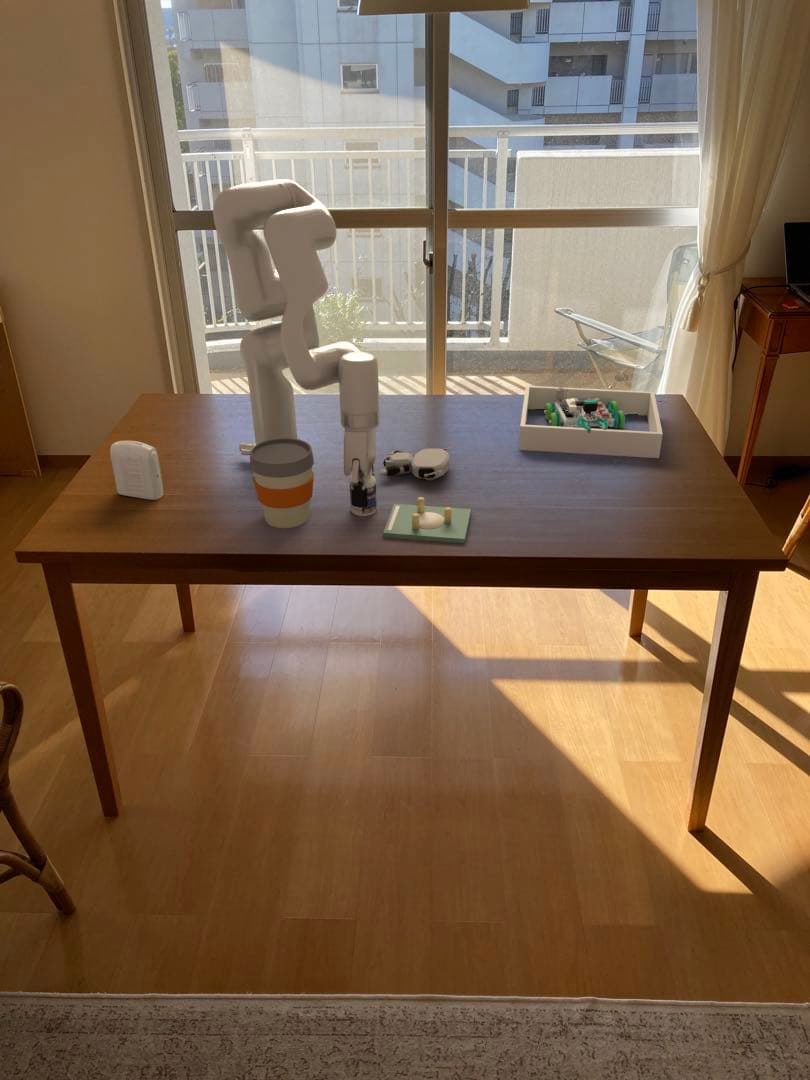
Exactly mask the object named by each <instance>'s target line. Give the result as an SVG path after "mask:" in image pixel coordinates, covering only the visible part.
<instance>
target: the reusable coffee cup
mask: <svg viewBox="0 0 810 1080" xmlns="http://www.w3.org/2000/svg"><path fill="white" fill-rule="evenodd" d="M249 460H250V461H249V464H250V465H249V466H250V469H251V471H252V472H253V477H252V480H253V481H252V482H253V485H254V488H255V493H256V496H257V500H258V501H259V503H260V505H261V508H262V510H263V511H262V512H263V515H264V518H265V522H266V523H267V524H268V525H269V526H271V527H274V528H277V529H278V528H279V529H290V528H296V527H299V526H302V525H303V524H305V523H306V522H307V521H308V520H309V519H310V518H309V517H310V511H311V510H310V508H311V507H310V506H311V499H312V497H313V491H314V480H315V479H314V475H315V474H314V471H313V466H314V464H315V458H314V454H313V448H312V446H311V444H310V443H309V442H307V441H305V440H302V439H299V438H297V439H294V438H276V439H270V440H267V441H263V442H261V443H259V444H257V445H255V446H254V447H253V448H252V449H251V452H250V455H249Z"/></svg>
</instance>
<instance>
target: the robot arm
mask: <svg viewBox="0 0 810 1080" xmlns="http://www.w3.org/2000/svg"><path fill="white" fill-rule="evenodd" d="M212 211H213V212H212V214H213V222H214V226H215V229H216V232H217V235H218V237H219V239H220V241H221V243H222V246H223V248H224V250H225V253H226V255H227V257H226V258H227V261H228V265H229V270H230V274H231V280H232V283H233V288H234V293H235V294H234V295H235V297H236V302H237V306H238V310H239V311H240V313H241V316H242V317H243V318H244V320H247V321H249V322H260V321H266V320H271V319H274V318H278V317H282V319H281V321H280V322H278V323H273V324H268V325H265V326H261V327H257V328H255V329H253V330H251V331H248V332H247V333H246V334H244V336H243V337H242V338H241V340H240V346H239V352H240V356H241V359H242V362H243V366H244V369H245V373H246V377H247V383H248V389H249V398H250V405H251V414H252V415H251V416H252V421H253V424H252V425H253V433H254V434H253V435H254V442H253V443H247V442H240V443H239V446H238V449H239V451H240V455H241V456H250V452H251V449H252V448H253V447H254V446H255V445H257V444H259V443H261V442H263V441H267V440H270V439H276V438H294V439H298V427H297V418H296V417H297V415H296V405H295V404H296V402H295V394H294V393H295V392H294V387H293V385H292V383H291V382H290V380H289V379H288V378H287V377H286V376H285V375H284V373H283V371H284V370H285V369H288V368H289V370H290V373H291V375H292V377H293V379H294V380H295V383H296V384H298V386H299V387H300V388H302V389H304V390H307V391H315V390H318V389H322V388H325V387H328V386H332V385H334V384H338V387H339V406H340V423H341V424H340V425H341V427H342V428H343V429H344V433H343V474H344V476H345V477H348V476H349V477H350V474H351V478H350V479H351V494H352V505H353V506H358V507H367V506H368V491H367V488H366V477H367V476H368V475H369V473H370V471H371V469H372V476H374V477H375V473H374V469H375V468H374V464H375V461H376V458H377V433H376V432H377V431H376V428H378V426H379V425H380V397H379V395H380V393H379V391H380V389H379V363H378V359H377V358H376V356H375V355H373V354H372V353H370V352H367V351H362V350H360V348H358V347H357V346H356V345H354V343H353V342H351V341H347V340H342V341H337V342H332V343H328V344H325V345H321V346H320V337H319V332H318V331H319V330H318V326H317V319H316V315H315V314H316V313H315V309H314V304H315V303H316V302H317V301H319V299H321V298H322V297H323V296H324V295H325V294H326V293H327V292H328V289H329V282H328V280H327V277H326V274H325V272H324V268H323V265H322V263H321V260H320V257H319V255H318V251H321V250H326V249H329V248H331V247H332V246H333V245H334V244H335V242H336V239H337V226H336V222H335V220H334V218H333V216H332V214H331V212H330V211H329V210H328V208H327V207H326V206H325V205H324V204H323V203H322V202H321V201H320V200H319V199H318V198H316V197H315V196H314V195H313V194H311V193H310V192H309V191H307V190H306V189H305V188H303V187H302V186H301V185H300V184H299V183H297V182H295V181H293V180H291V179H287V178H281V179H279V178H278V179H272V180H265V181H257V182H248V183H242V184H237V185H233V186H229V187H228V188H225V189H223V190H222V191H220V192H219V193H218V194H217V195H216V197H215V200H214V203H213V207H212ZM257 229H258V230H259V229H263V230H262V231H263V237H264V240H265V241H264V240H263V239H262V238H261V236H260V235H259V234H257V232H256V231H254V230H257ZM265 242H266V243H265ZM271 261H272V262H273V265H274V267H275V269H274V268H273V265H272V262H271ZM359 471H360V472H363V474H359ZM359 478H362V482H361V481H359Z"/></svg>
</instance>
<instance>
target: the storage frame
mask: <svg viewBox="0 0 810 1080" xmlns="http://www.w3.org/2000/svg"><path fill="white" fill-rule="evenodd" d="M559 387H560V386H542V385H541V386H540V385H539V386H538V385H525V390H524V397H523V402H522V403H523V405H522V409H521V410H522V411H521V418H520V419H521V420H520V424H519V427H520V428H519V440H518V441H519V442H518V450H519V451H533V452H551V453H565V454H581V455H584V454H585V455H601V456H616V457H617V456H618V457H633V458H648V459H649V458H651V459H660V455H661V447H662V442H663V435H664V434H663V428H662V424H661V418H660V413H659V410H658V409H659V408H658V405H657V404H658V403H657V399H656V393H655V391H646V390H645V391H644V390H643V391H642V390H641V391H640V390H624V389H623V390H622V389H621V390H620V389H602V388H601V389H600V388H599V389H598V388H583V387H563V388H564V389H568V390H565V391H568V393H569V398H568V399H571V398H589V399H590V400H593V399H595V398H599V399H600V401H602V402H603V404H604V405H605V407H606V409H607V404H608V402H612V401H616V402H617V404H618V412H619V411H623V412H624V413H627V414H626V415H628V414H638V415H637V416H646V417H647V422H648V427H649V431H645V430H643V431H642V430H630V429H629V430H628V429H625V430H623V429H608V428H607V429H606V430H603V428H594V427H593V428H592V427H590V428H591V433H587V432H588V430H587V429H585V428H580V427H564V426H560V427H557V426H550V425H535V424H527V421H528V413H529V410H534V409H545V405H546V404H547V403H550V404H552V403H554V404H555V403H556V402H558V403H562V400H561V401H560V400H558V399H557V398H556V390H557V389H558V388H559ZM566 399H567V398H566ZM559 405H560V404H559ZM559 405H558V406H559ZM562 405H563V404H562ZM562 405H561V406H562ZM564 406H565V405H564ZM565 407H566V406H565Z"/></svg>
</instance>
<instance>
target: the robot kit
mask: <svg viewBox="0 0 810 1080" xmlns="http://www.w3.org/2000/svg"><path fill="white" fill-rule="evenodd" d="M558 387H559V388H558V389H557V390H556V398H557V399H558V400H560V401H561V400H562V403H558V402H556V403H555V404H554V403H552V404H550V403H547V404H546V405H545V410H543V413H544V417H545V419H546V420H547V421H548V423H549V426H557V427H561V425H562V426H563V427H575V428H585V429H587V430H588V432H587V433H591V428H592V427H599V428H600V429H603V430H606V429H608V427H614V428H615V429H617V428H619V429H622V428H624V426H625V423H626V416H625V415H626V414H624V412H623V411H619V412H618V404H617V402H616V401H612V402H608V404H607V409H606V407H605V405H604V404H603V402H602V401H600V399H599V398H595V399H593V400H590V399H589V398H571V399H568V398H569V393H568V391H565V390H568V389H564V388H565V387H564V388H563V387H561V386H558ZM566 398H567V399H566ZM559 404H560V405H559ZM562 404H563V405H562ZM558 405H559V406H558ZM561 405H562V406H561ZM564 405H565V406H566V407H565V406H564ZM562 410H568V411H562Z"/></svg>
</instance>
